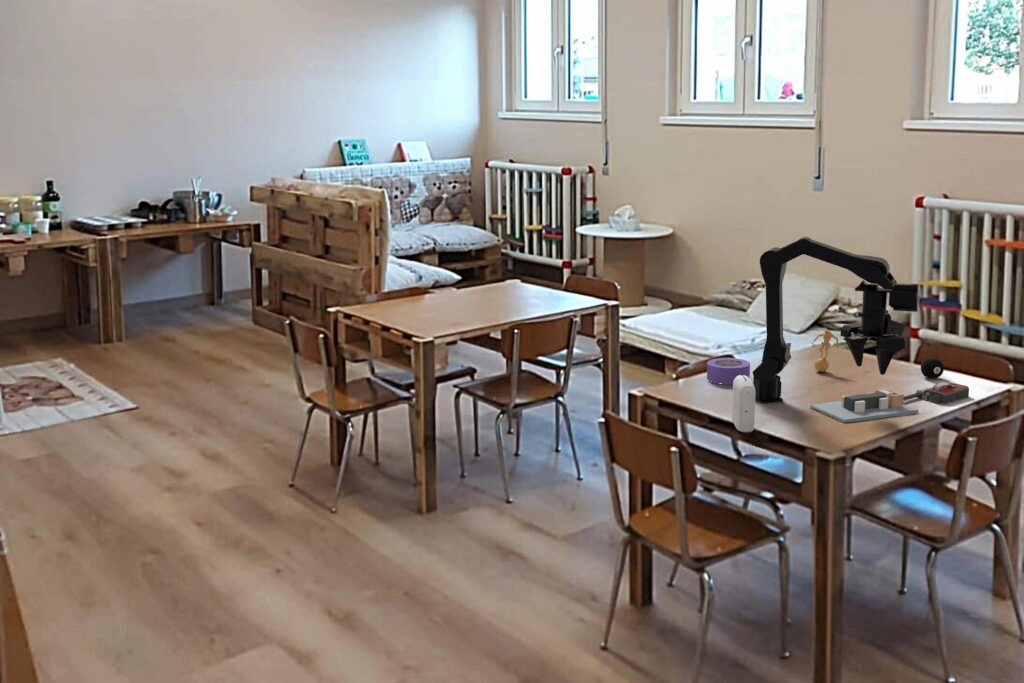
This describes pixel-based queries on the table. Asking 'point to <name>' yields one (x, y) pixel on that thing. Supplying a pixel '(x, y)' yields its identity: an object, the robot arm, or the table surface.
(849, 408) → the rod
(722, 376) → the tape roll
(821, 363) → the figurine
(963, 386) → the walkie-talkie
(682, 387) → the table surface
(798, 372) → the table surface
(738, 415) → the photo printer
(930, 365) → the billiard ball
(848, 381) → the table surface
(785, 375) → the table surface
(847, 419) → the board
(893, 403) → the end holder
